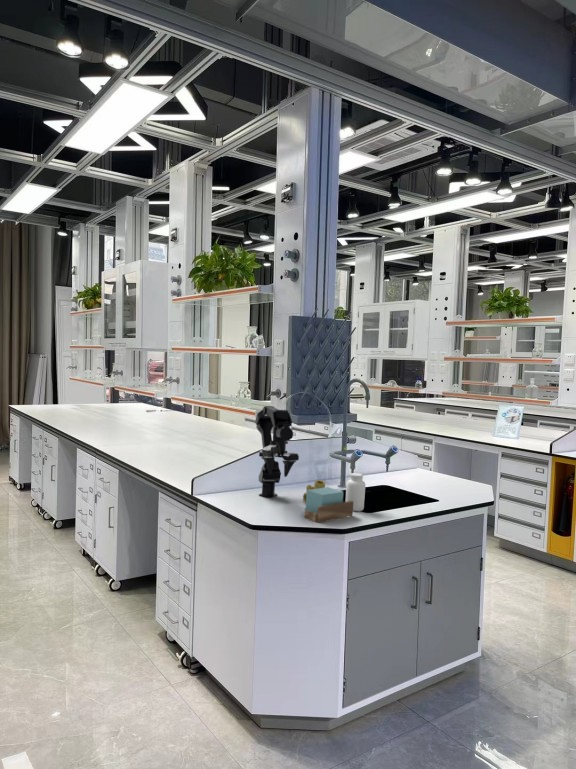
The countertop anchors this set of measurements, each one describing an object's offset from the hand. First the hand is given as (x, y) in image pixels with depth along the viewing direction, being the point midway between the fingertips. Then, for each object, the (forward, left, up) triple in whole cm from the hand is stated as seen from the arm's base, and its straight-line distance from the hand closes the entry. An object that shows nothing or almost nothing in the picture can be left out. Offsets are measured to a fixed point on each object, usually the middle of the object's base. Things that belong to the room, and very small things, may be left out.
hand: (277, 475), depth 243 cm
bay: (+6, +27, -12) cm, 30 cm away
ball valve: (-14, +13, -13) cm, 23 cm away
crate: (+5, +24, -12) cm, 27 cm away
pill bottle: (-12, +31, -12) cm, 36 cm away
